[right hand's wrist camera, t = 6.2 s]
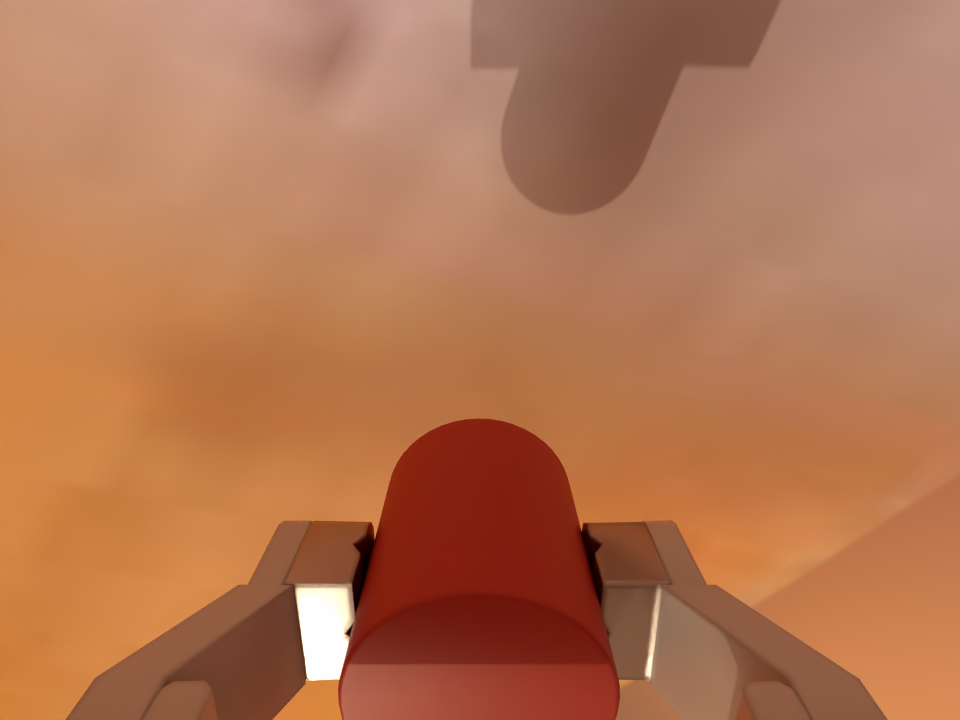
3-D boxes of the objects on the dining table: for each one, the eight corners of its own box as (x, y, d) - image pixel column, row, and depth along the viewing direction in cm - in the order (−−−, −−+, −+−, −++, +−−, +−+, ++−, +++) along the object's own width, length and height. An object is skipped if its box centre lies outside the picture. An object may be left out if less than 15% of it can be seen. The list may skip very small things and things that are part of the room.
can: (373, 554, 13) (317, 778, 8) (408, 398, 11) (364, 565, 7) (541, 587, 13) (572, 821, 8) (593, 439, 12) (661, 624, 7)
